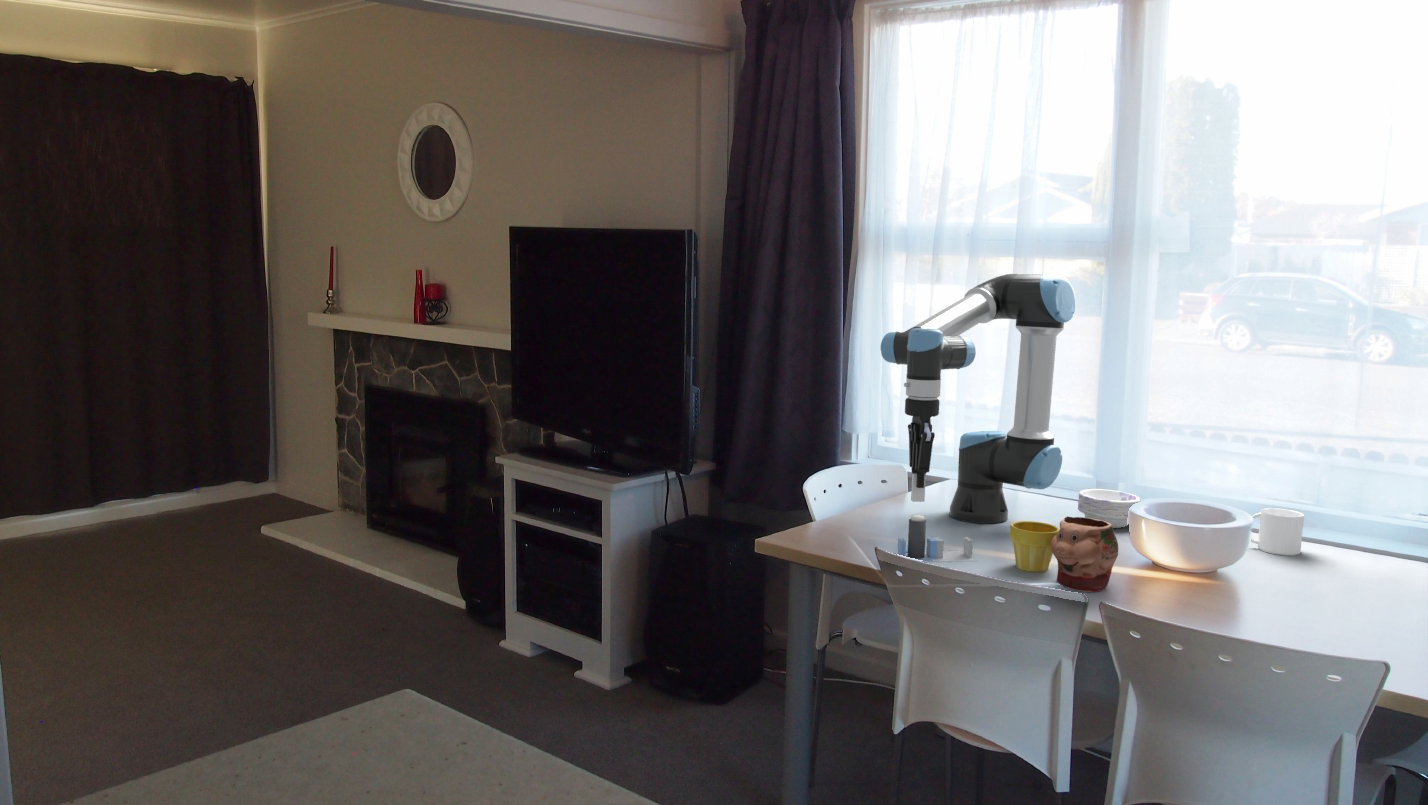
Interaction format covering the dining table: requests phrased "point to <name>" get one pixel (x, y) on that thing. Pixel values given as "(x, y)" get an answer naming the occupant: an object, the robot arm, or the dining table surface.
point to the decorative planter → (1084, 553)
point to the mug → (1280, 531)
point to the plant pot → (1032, 544)
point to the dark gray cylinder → (916, 537)
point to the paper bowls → (1106, 505)
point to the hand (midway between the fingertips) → (917, 500)
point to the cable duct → (940, 550)
